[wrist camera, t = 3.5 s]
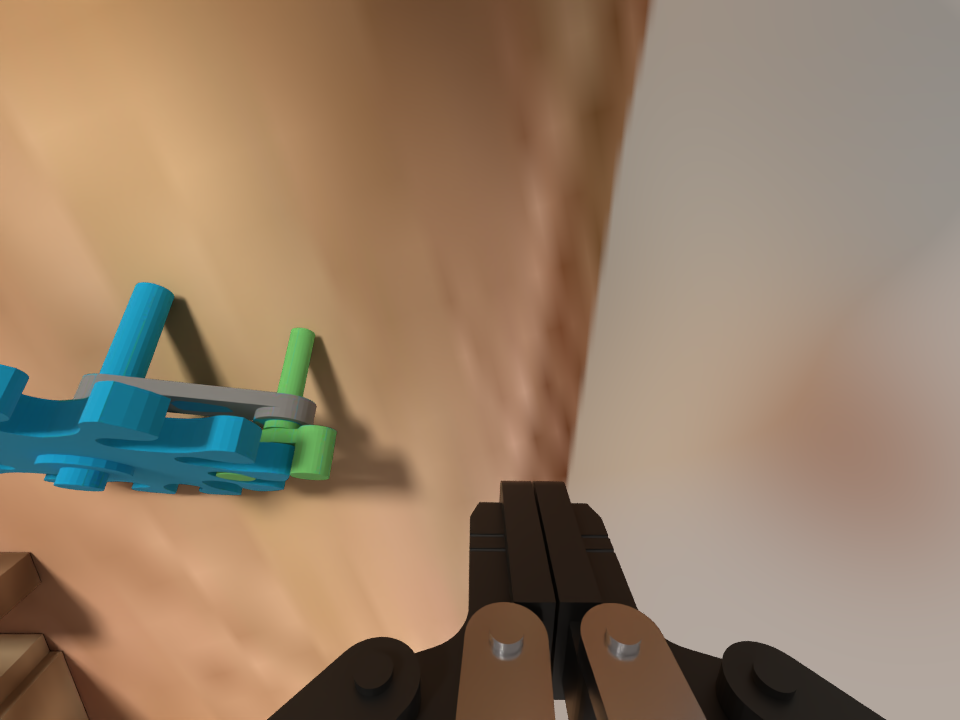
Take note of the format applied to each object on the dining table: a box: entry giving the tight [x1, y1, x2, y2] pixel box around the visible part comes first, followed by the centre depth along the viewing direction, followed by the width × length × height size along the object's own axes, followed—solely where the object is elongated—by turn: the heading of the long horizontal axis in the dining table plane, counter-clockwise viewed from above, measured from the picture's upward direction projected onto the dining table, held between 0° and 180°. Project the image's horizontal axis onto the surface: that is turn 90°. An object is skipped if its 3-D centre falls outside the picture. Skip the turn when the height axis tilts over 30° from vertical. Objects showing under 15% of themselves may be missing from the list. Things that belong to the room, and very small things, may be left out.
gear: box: [0, 282, 337, 495], centre depth 13 cm, size 11×6×10 cm
